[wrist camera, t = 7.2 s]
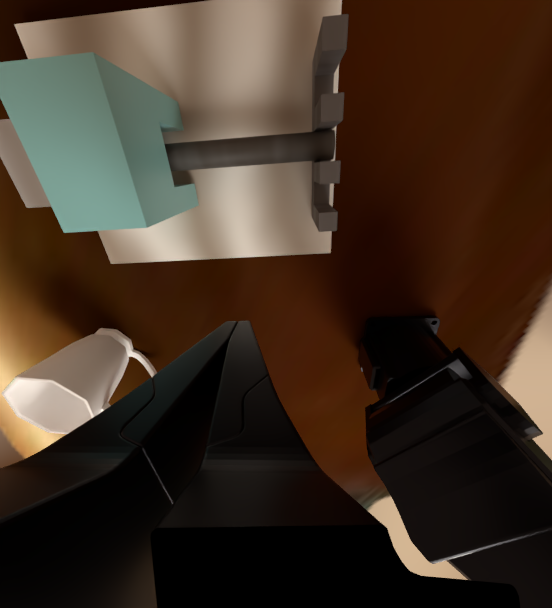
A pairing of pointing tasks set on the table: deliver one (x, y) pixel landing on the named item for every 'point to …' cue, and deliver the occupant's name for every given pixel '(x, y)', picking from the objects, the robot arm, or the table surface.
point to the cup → (73, 382)
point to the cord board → (221, 120)
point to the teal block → (95, 141)
